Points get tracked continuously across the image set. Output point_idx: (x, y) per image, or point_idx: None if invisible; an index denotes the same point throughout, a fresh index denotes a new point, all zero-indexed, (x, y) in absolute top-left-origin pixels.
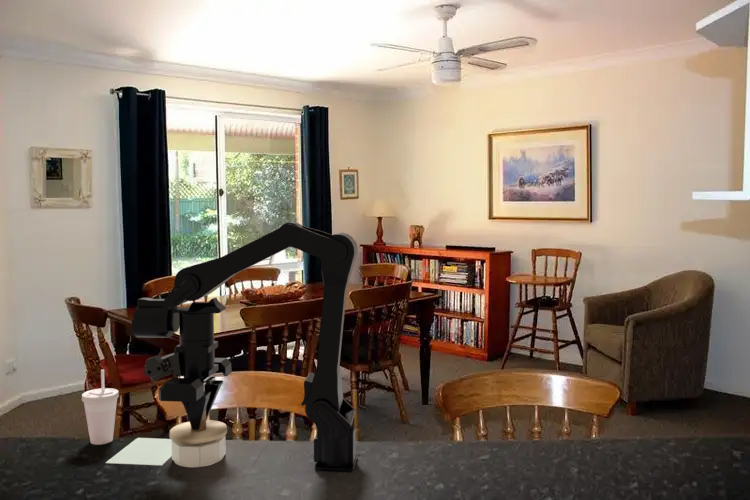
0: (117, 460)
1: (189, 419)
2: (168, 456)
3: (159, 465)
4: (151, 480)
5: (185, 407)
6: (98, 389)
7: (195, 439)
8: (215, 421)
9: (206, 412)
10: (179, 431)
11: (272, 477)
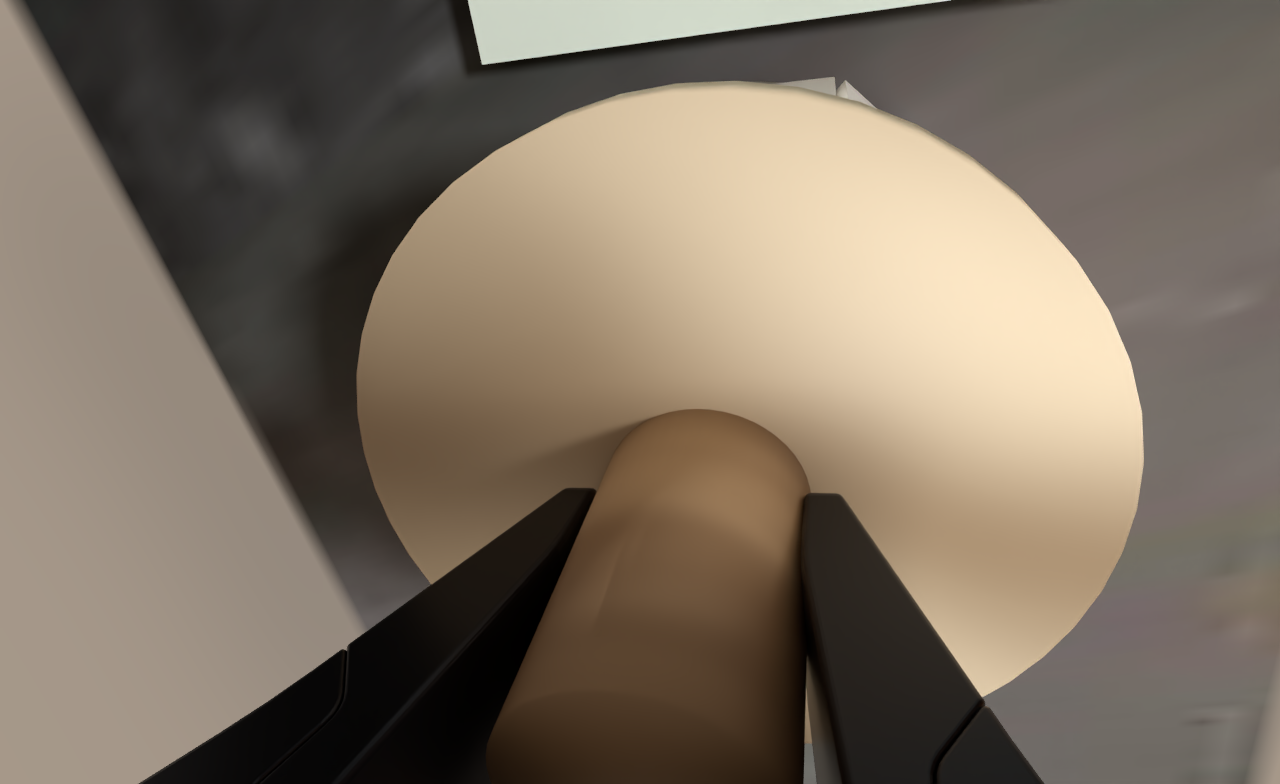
0: None
1: (449, 582)
2: (704, 1)
3: (480, 36)
4: (279, 106)
5: (223, 753)
6: None
7: (411, 550)
8: (1053, 607)
9: (814, 734)
10: (551, 296)
11: None
